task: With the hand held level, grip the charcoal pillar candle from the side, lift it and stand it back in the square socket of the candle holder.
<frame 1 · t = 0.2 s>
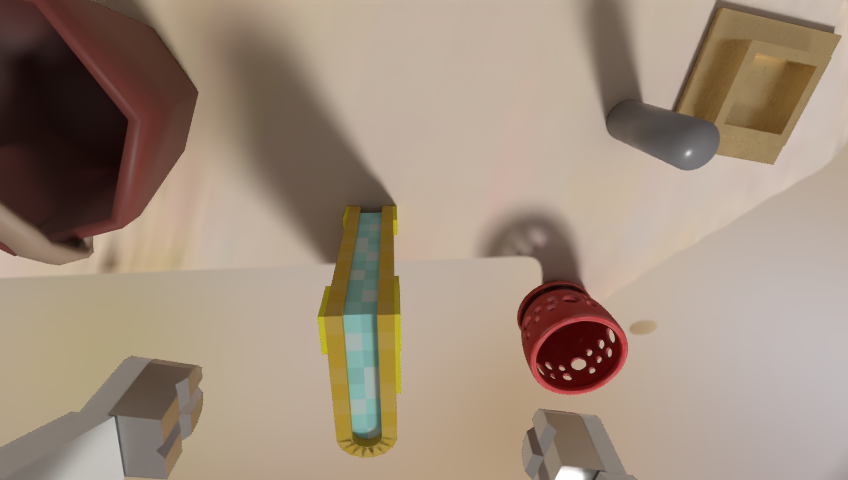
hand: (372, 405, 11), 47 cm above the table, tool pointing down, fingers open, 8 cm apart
maroon tapered planter: (127, 91, 50), on the table
book: (373, 261, 62), on the table
plant pot: (549, 306, 68), on the table
candle: (625, 120, 56), on the table
candle holder: (744, 91, 55), on the table
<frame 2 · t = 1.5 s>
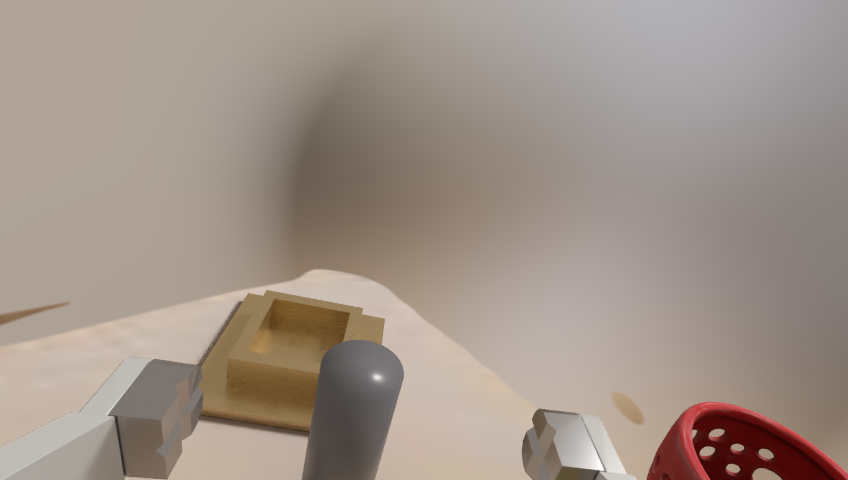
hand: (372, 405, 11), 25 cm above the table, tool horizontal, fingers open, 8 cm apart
candle holder: (299, 360, 44), on the table
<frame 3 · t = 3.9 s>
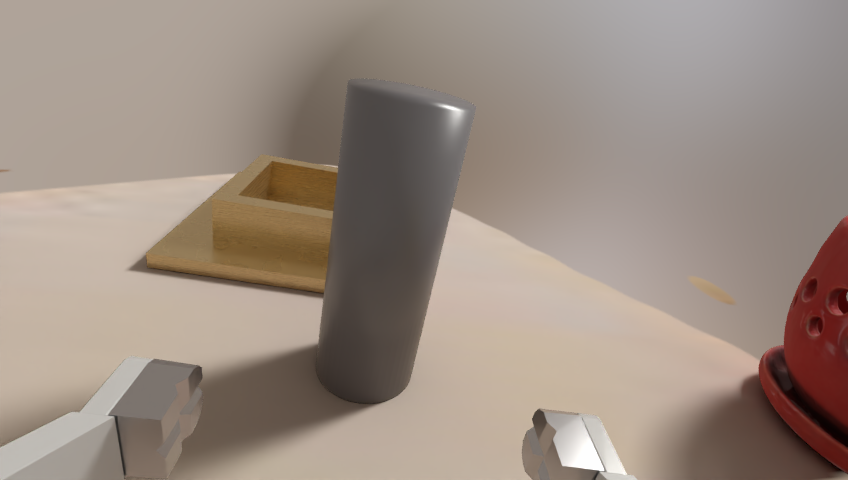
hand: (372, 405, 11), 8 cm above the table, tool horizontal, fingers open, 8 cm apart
candle: (364, 365, 23), on the table
candle holder: (306, 232, 35), on the table
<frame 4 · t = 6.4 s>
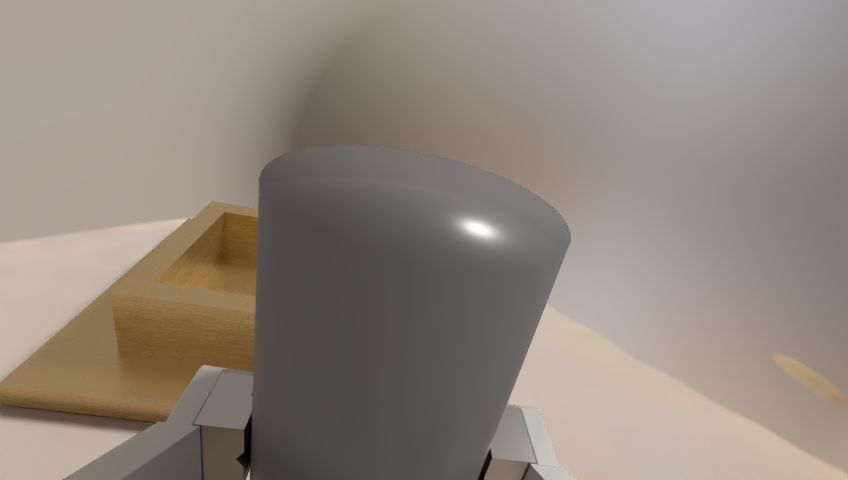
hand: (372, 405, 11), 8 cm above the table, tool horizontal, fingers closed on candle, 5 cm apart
candle holder: (269, 313, 25), on the table
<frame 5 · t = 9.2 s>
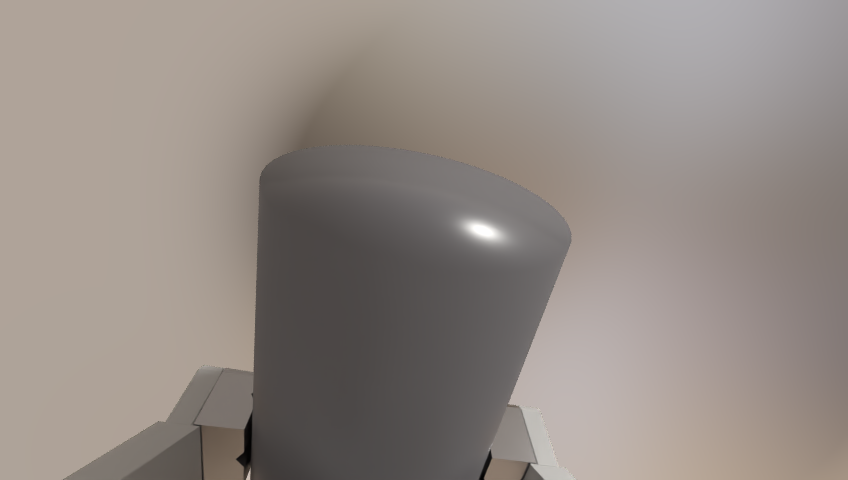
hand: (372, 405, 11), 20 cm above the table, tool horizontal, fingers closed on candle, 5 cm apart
when the fingers open (10 cm above the table, at t = 12.4 s): candle stays where it is, resting on candle holder.
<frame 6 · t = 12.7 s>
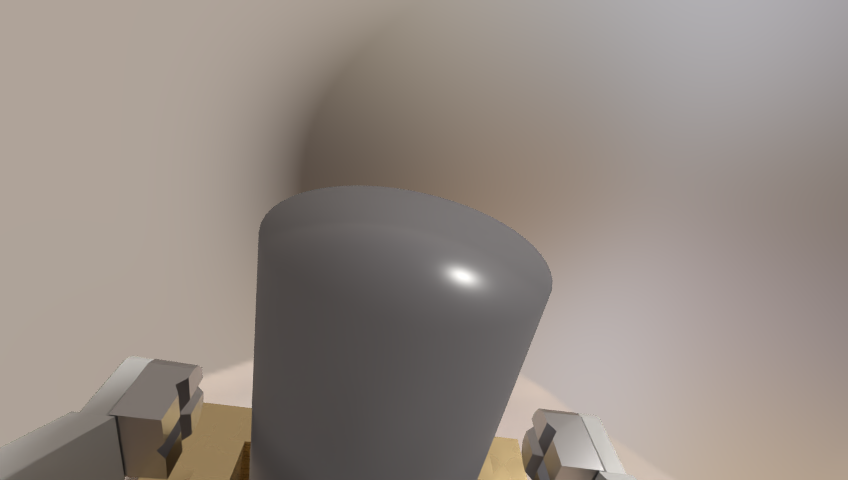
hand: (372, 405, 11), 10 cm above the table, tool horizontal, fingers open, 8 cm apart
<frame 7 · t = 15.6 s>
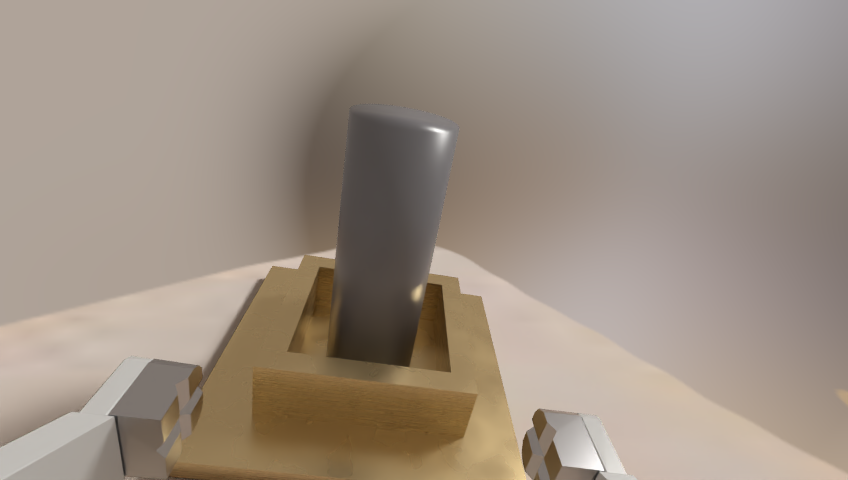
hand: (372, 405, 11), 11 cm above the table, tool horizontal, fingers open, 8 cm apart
candle: (369, 353, 26), point 1 cm above the table, touching candle holder
candle holder: (367, 365, 26), on the table
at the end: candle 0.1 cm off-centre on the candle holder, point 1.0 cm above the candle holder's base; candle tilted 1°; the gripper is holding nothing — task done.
